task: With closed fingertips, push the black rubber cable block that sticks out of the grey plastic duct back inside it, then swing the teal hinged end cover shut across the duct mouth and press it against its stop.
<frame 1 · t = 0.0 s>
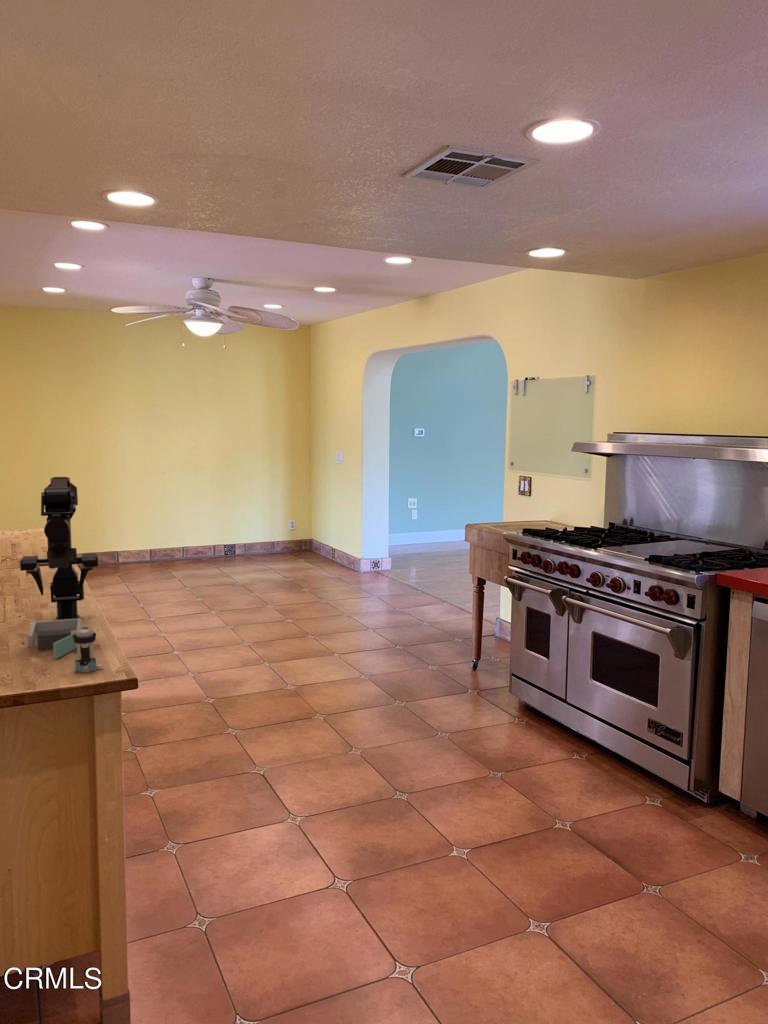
hand: (61, 593, 202), 15 cm above the table, fingers open, 9 cm apart
duct: (56, 637, 213), on the table
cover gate: (69, 643, 200), point 2 cm above the table, hinge at 60.0°
cable block: (54, 647, 205), on the table
push button: (88, 671, 186), on the table
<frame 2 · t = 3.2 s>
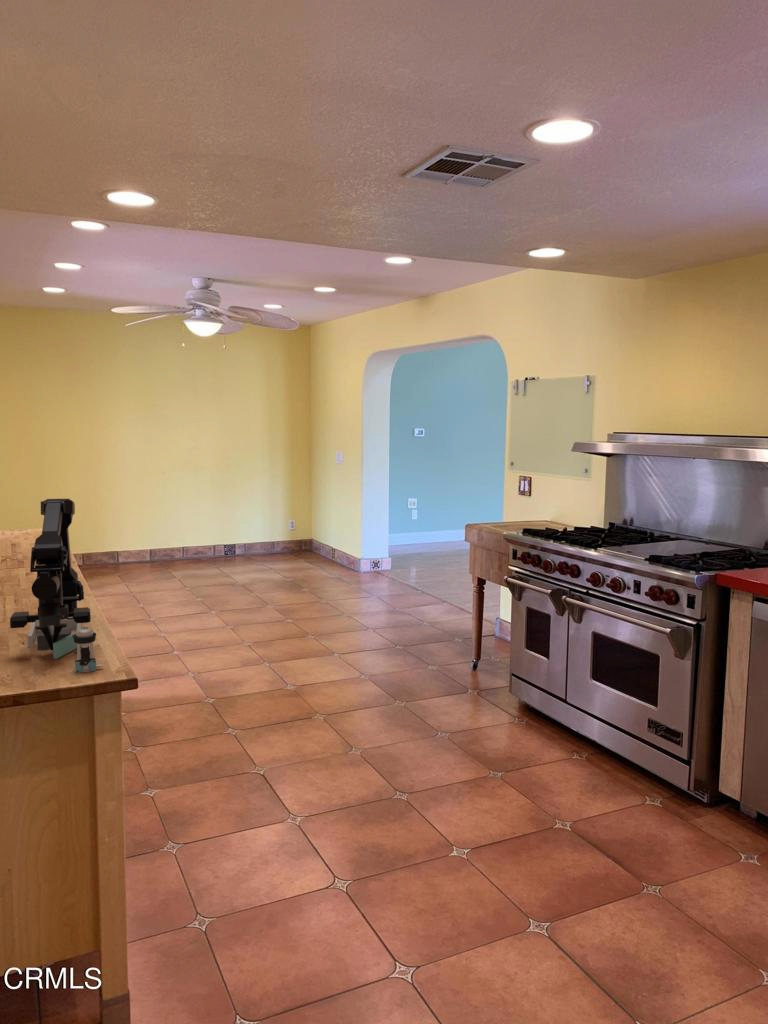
hand: (52, 649, 197), 1 cm above the table, fingers closed
nothing on the table moved.
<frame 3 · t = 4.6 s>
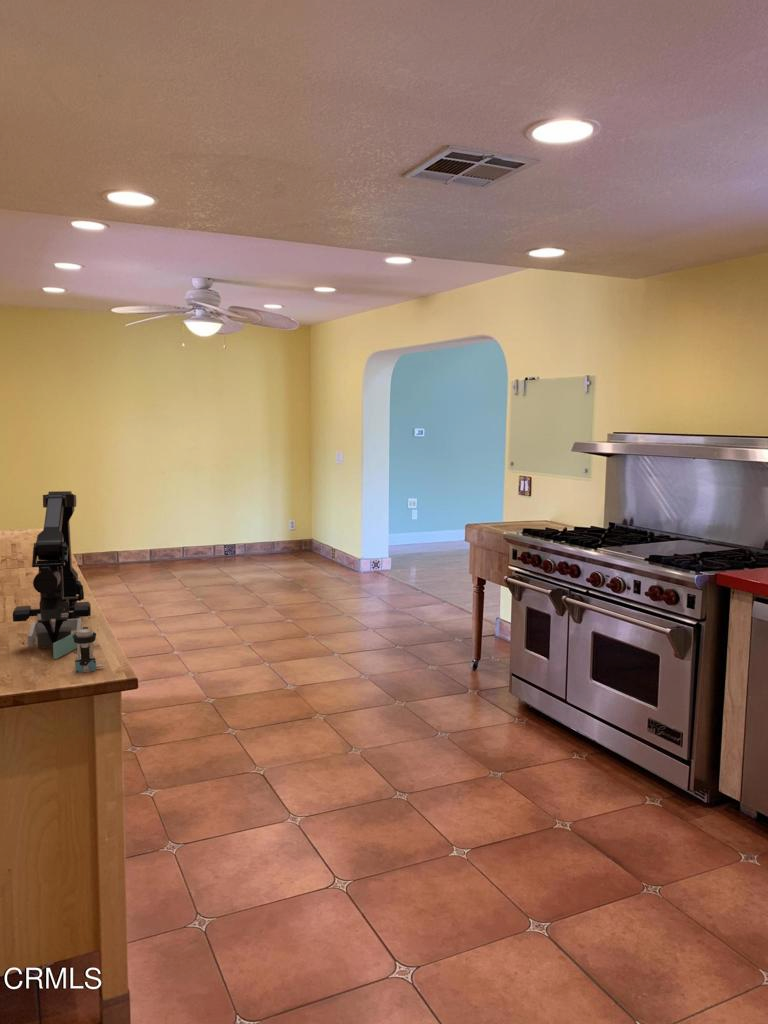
hand: (54, 643, 203), 1 cm above the table, fingers closed
cable block: (54, 644, 207), on the table, touching gripper
everything else where it was.
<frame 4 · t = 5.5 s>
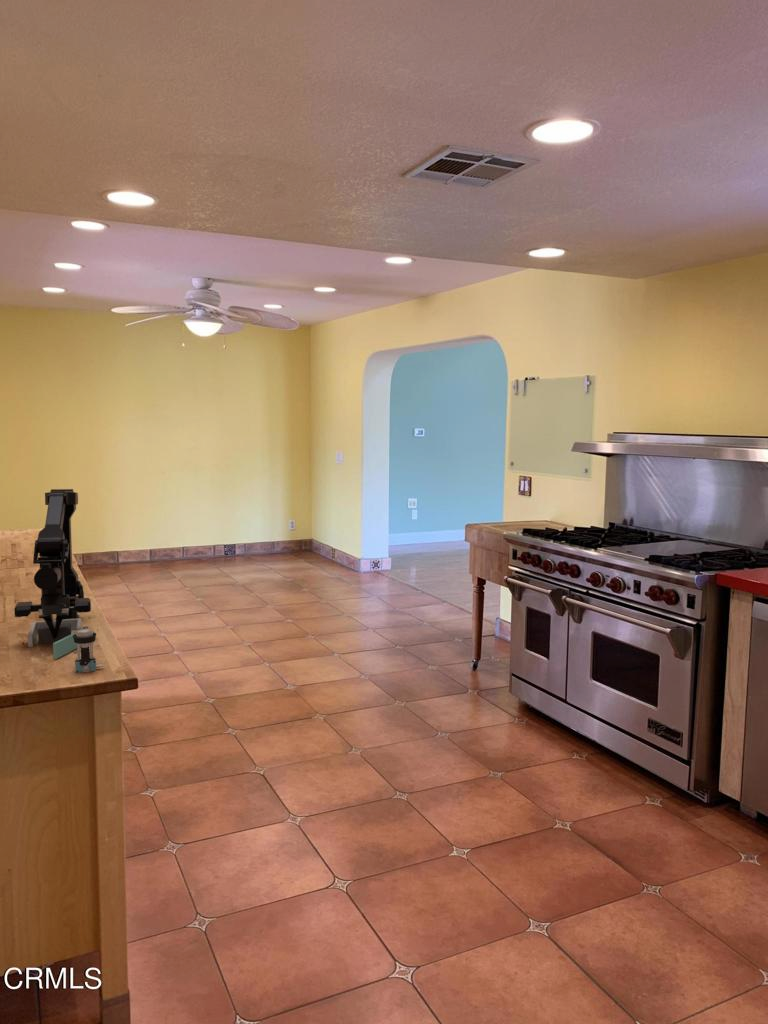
hand: (55, 638, 207), 1 cm above the table, fingers closed
cable block: (55, 640, 211), on the table, touching gripper
everything else where it was.
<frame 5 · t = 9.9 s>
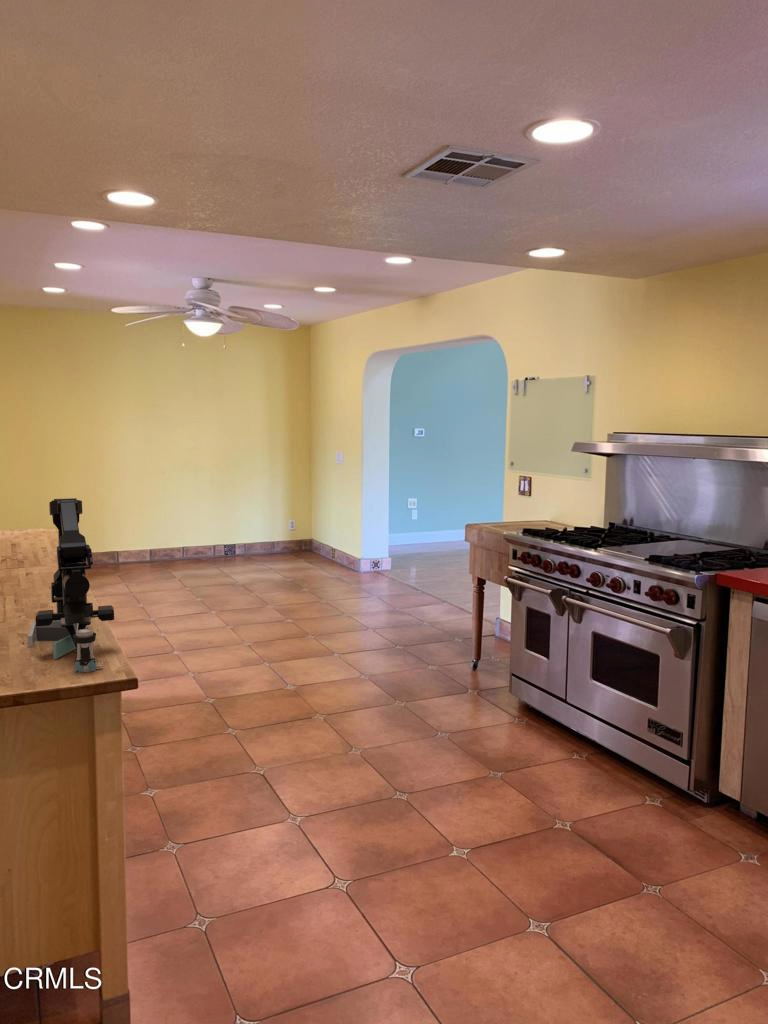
hand: (77, 647, 199), 1 cm above the table, fingers closed
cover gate: (69, 643, 200), point 2 cm above the table, hinge at 60.0°, touching gripper
cable block: (55, 639, 212), on the table
everything else where it was.
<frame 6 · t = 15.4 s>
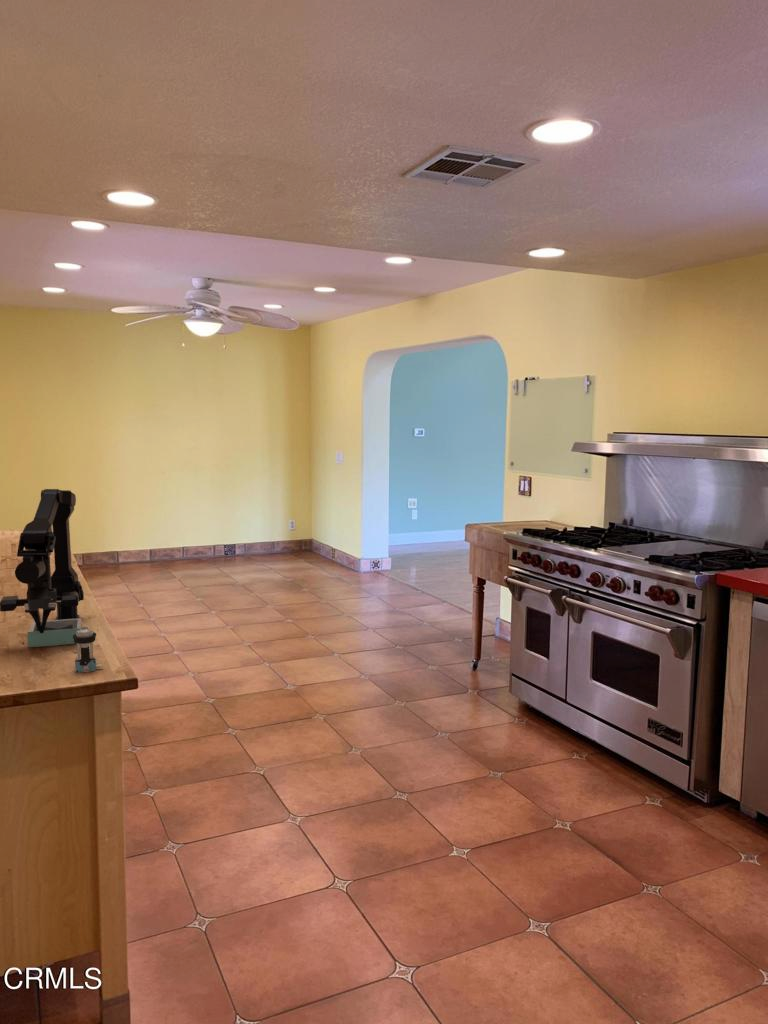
hand: (41, 632, 203), 4 cm above the table, fingers closed
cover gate: (54, 637, 205), point 2 cm above the table, hinge at -0.7°, touching gripper
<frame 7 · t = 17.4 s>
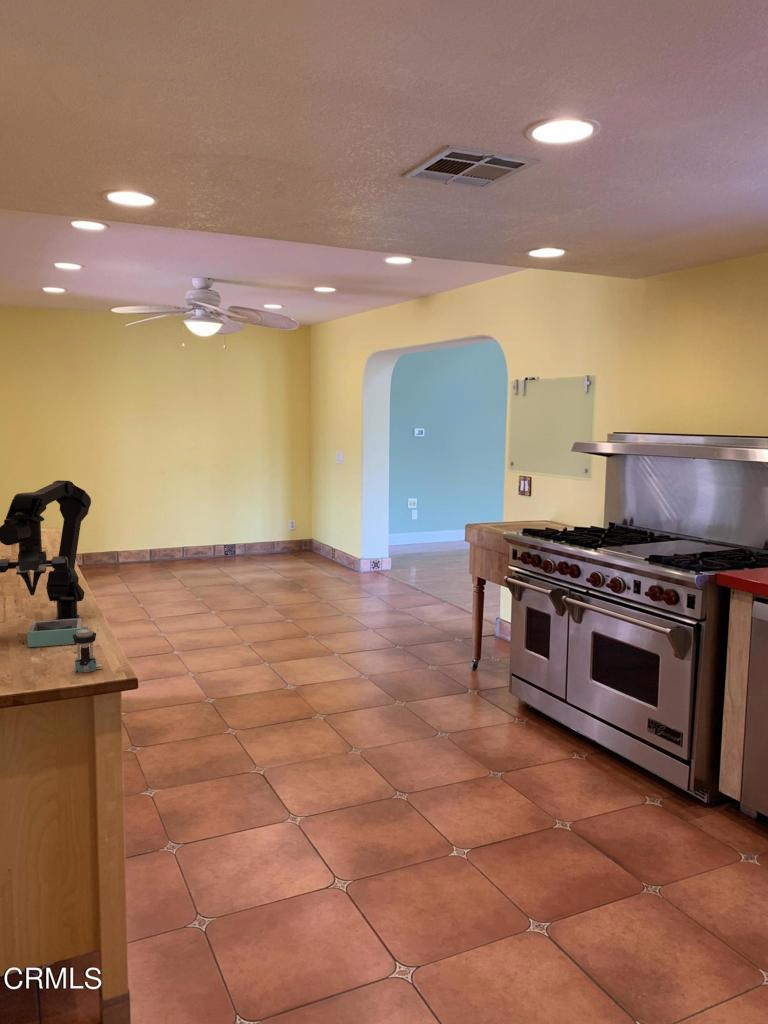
hand: (32, 595, 211), 12 cm above the table, fingers closed
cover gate: (54, 637, 205), point 2 cm above the table, hinge at -1.1°
at the end: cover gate at -1° (first picture: +60°); cable block inside the target area (0.1 cm from its centre), on the table; cable block tilted 0° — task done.
